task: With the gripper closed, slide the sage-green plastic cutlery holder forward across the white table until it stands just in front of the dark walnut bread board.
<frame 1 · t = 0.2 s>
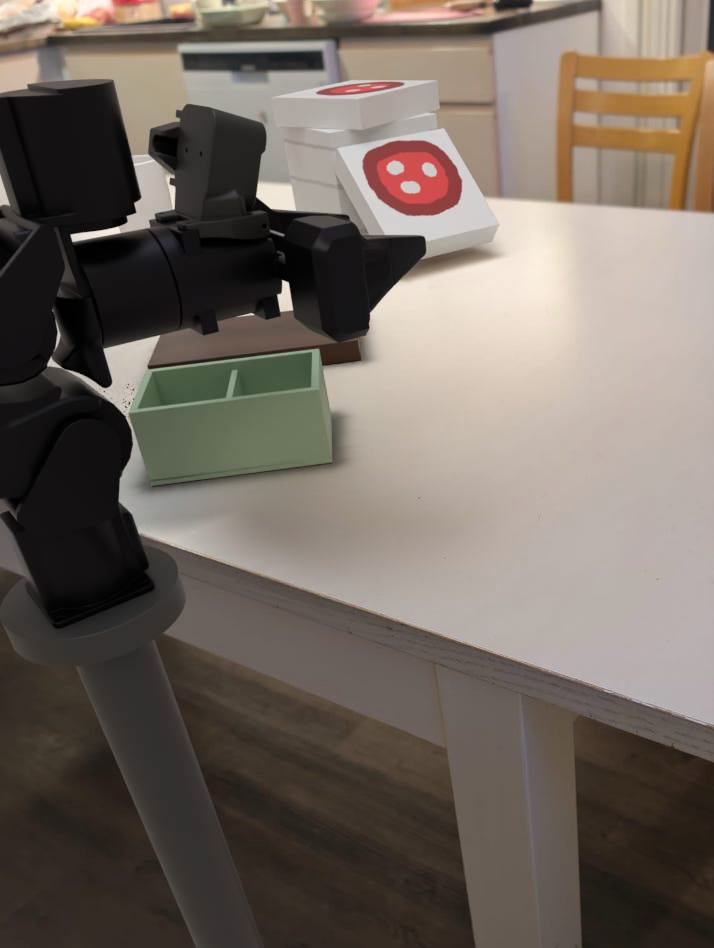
hand: (385, 233, 62), 17 cm above the table, tool horizontal, fingers open, 9 cm apart
bread board: (261, 351, 95), on the table
cutlery holder: (246, 450, 76), on the table
pizza boxes: (394, 249, 124), on the table
drinking glass: (167, 298, 114), on the table
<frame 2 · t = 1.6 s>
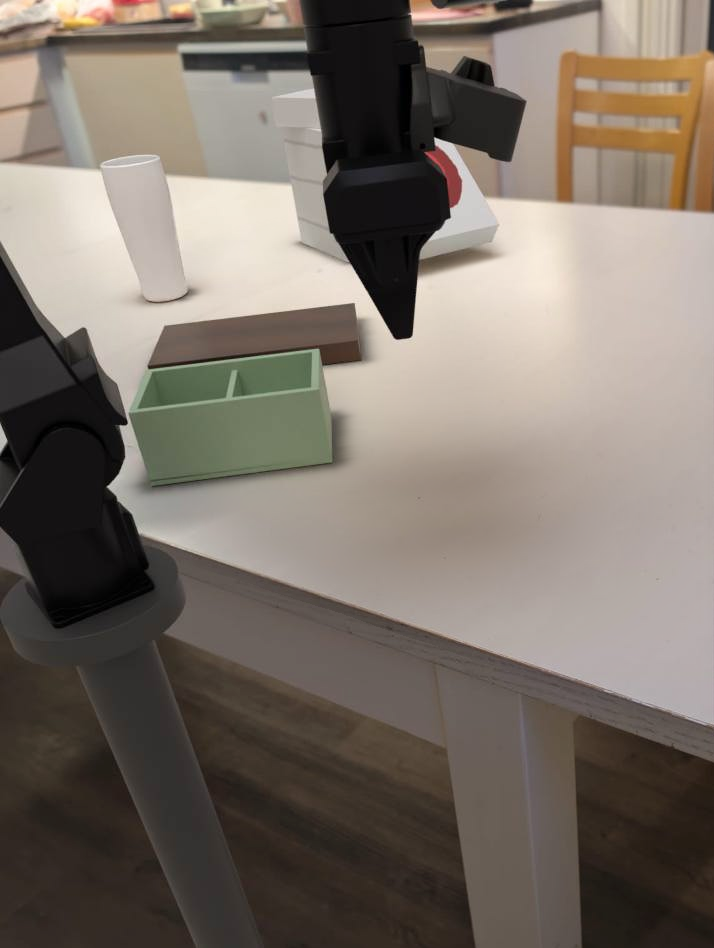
hand: (398, 317, 59), 13 cm above the table, tool pointing down, fingers open, 8 cm apart
nothing on the table moved.
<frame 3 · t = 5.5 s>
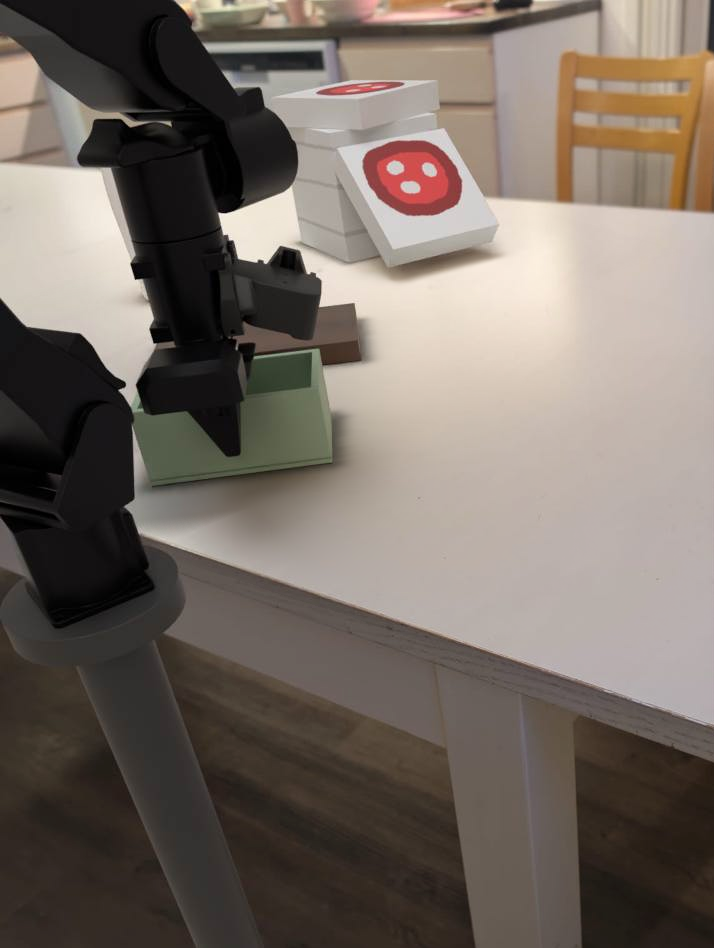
hand: (234, 454, 69), 3 cm above the table, tool pointing down, fingers closed
cutlery holder: (246, 449, 76), on the table, touching gripper
everything else where it was.
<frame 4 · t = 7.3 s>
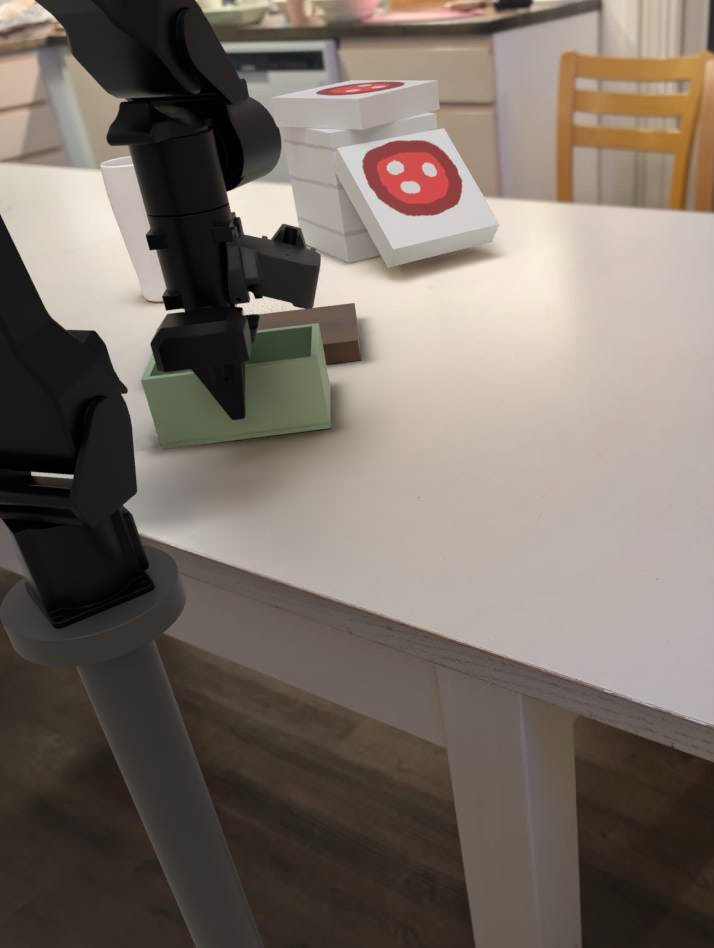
hand: (238, 418, 75), 3 cm above the table, tool pointing down, fingers closed
cutlery holder: (250, 417, 81), on the table, touching gripper
everything else where it was.
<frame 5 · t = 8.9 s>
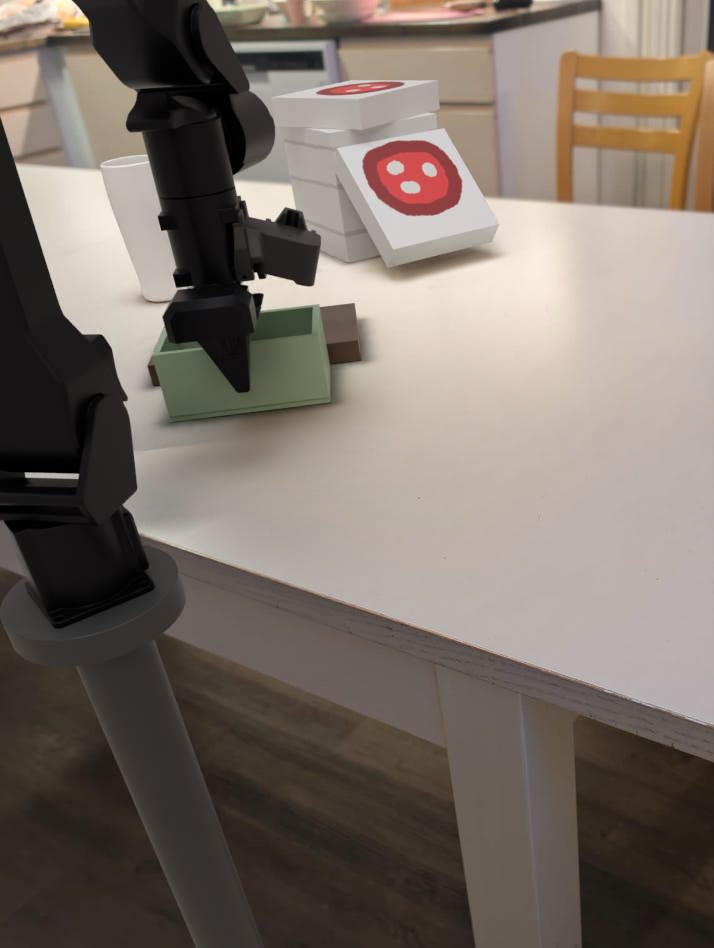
hand: (243, 391, 79), 3 cm above the table, tool pointing down, fingers closed
cutlery holder: (254, 393, 86), on the table, touching gripper
everything else where it was.
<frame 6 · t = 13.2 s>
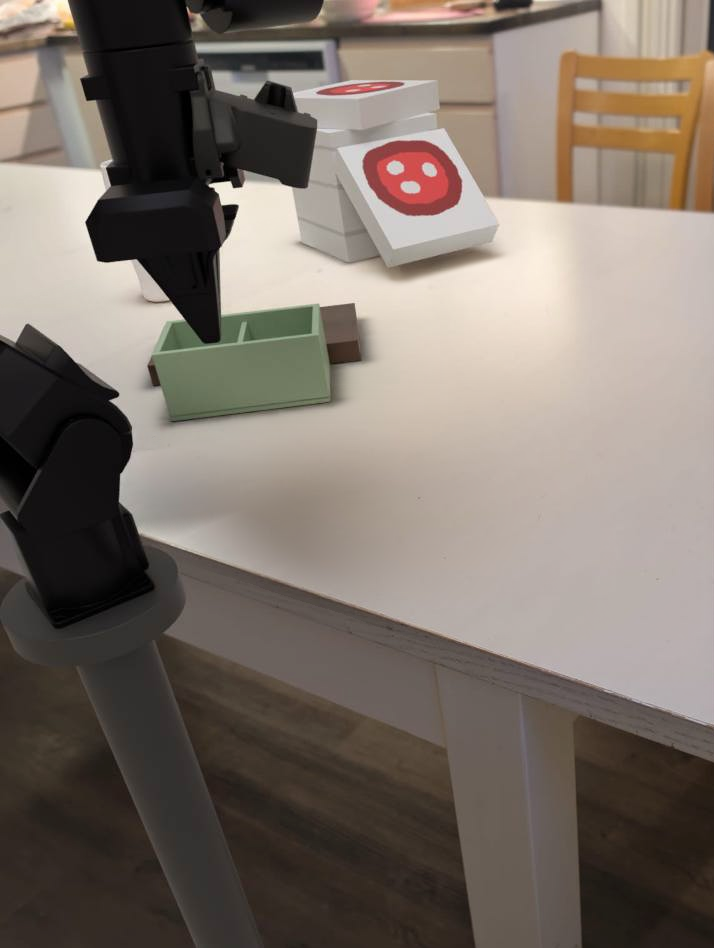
hand: (212, 341, 58), 13 cm above the table, tool pointing down, fingers closed
cutlery holder: (254, 392, 86), on the table
everything else where it was.
at the end: cutlery holder 0.4 cm from the target spot, on the table; cutlery holder 11.1 cm from the bread board (horizontally); cutlery holder tilted 0° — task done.
